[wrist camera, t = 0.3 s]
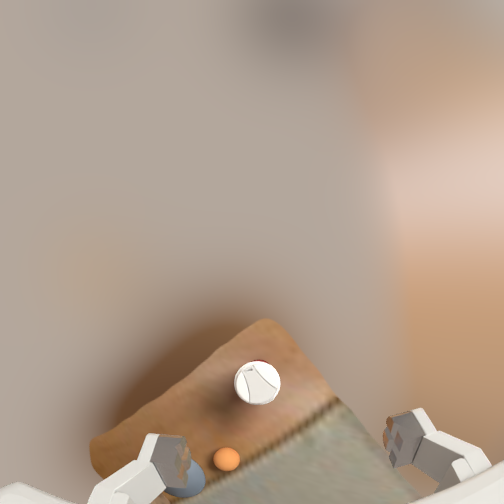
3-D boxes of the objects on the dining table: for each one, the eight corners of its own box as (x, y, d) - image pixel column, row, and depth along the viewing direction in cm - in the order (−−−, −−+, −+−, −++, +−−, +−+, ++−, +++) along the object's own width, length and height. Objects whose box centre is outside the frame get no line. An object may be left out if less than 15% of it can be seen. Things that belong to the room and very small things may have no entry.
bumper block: (171, 504, 53) (166, 514, 48) (159, 508, 52) (153, 517, 48) (138, 461, 56) (130, 469, 51) (126, 465, 56) (118, 473, 51)
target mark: (216, 487, 54) (216, 487, 54) (172, 502, 53) (172, 503, 53) (184, 445, 57) (183, 445, 57) (141, 462, 56) (140, 463, 56)
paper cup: (233, 365, 61) (224, 375, 47) (266, 348, 62) (266, 353, 48) (251, 396, 59) (247, 414, 46) (284, 379, 60) (289, 394, 46)
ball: (245, 458, 56) (243, 468, 50) (224, 468, 55) (221, 478, 50) (231, 440, 57) (228, 449, 52) (210, 450, 56) (206, 459, 51)
